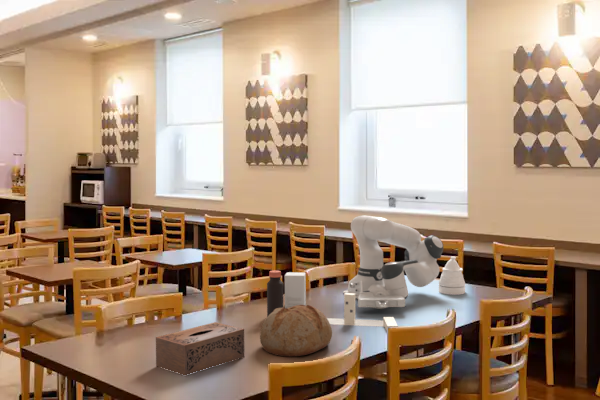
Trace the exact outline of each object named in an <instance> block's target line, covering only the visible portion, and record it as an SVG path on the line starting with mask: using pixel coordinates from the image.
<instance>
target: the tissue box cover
mask: <svg viewBox="0 0 600 400" xmlns="http://www.w3.org/2000/svg"><path fill="white" fill-rule="evenodd" d="M242 357H244V358H245V329H244V328H242V327H237V326H234V325H233V326H232V325H229V324H225V323H221V322H218V321H214V322H211V323H207V324H202V325H198V326H195V327H190V328H186V329H183V330H180V331H174V332H172V333H168V334H164V335H159V336H155V367H156V366H159V367H162V368H165V369H168V370H171V371H174V372H178V373H180V374H183V375H187V374H190V373H193V372H196V371H200V370H203V369H206V368H209V367H212V366H216V365H219V364H222V363H225V362H228V363H230V362H229V361H231V362H233V361H232V360H234V361H236V360H235V359H238V358H241V359H243V358H242ZM238 360H239V359H238ZM225 364H226V363H225ZM222 365H223V364H222ZM219 366H220V365H219ZM216 367H217V366H216ZM206 370H207V369H206ZM203 371H204V370H203ZM200 372H201V371H200Z"/></svg>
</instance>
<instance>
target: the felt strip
mask: <svg viewBox="0 0 600 400" xmlns="http://www.w3.org/2000/svg"><path fill="white" fill-rule="evenodd" d="M326 318H327V319H328V321H329V323H330V326H331V325H333V326H334V325H335V326H355V327H356V326H357V327H359V326H360V327H384V325H383V319H382V320H380V319H359V318H355V324H344V318H334V317H333V318H329V317H326ZM384 328H385V327H384Z"/></svg>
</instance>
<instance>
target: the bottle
mask: <svg viewBox="0 0 600 400" xmlns="http://www.w3.org/2000/svg"><path fill="white" fill-rule="evenodd" d="M268 274H269V275H268V277H269V281H267V283H266V313H267V314H266V318H267V317H268V316H269V315H270V314H271V313H272V312H273V311H274V310H275V309H276V308H283V307H284V282H283V281H282V280H281V278H282V272H281V270H275V269H274V270H270V271H269V273H268Z"/></svg>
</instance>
